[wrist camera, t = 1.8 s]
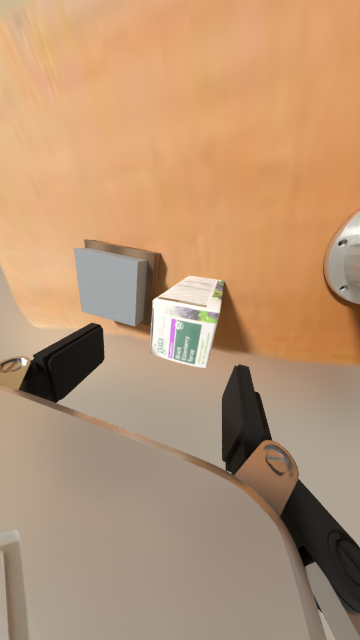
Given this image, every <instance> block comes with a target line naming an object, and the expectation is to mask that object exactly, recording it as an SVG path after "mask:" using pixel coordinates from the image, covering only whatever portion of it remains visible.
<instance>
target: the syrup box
mask: <svg viewBox="0 0 360 640" xmlns="http://www.w3.org/2000/svg"><path fill="white" fill-rule="evenodd" d="M223 288H224V280H217V279H209V278H203V277H196V276H188V277H187V278H185V279H184V280H182V281H181V282H179V283H178V284H176V285H175V286H173V287H172V288H170V289H169V290H167V291H166V292H164V293H163V294H161V295H160V296H158V297H157V298H155V299H154V300H153V311H152V322H151V347H150V353H151V354H153V355H156V356H159V357H162V358H165V359H168V360H171V361H175V362H178V363H182V364H186V365H190V366H195V367H201V368H206V367H207V364H208V360H209V356H210V352H211V348H212V344H213V340H214V336H215V331H216V327H217V323H218V318H219V314H220V311H221V303H222V296H223Z"/></svg>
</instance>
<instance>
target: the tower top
mask: <svg viewBox="0 0 360 640" xmlns="http://www.w3.org/2000/svg"><path fill="white" fill-rule="evenodd" d="M74 252H75V260H76V268H77V276H78V285H79V293H80V301H81V309H82V312H86V313H89V314H93V315H96V316H100V317H103V318H107V319H110V320H114V321H117V322H121V323H124V324H128V325H131V326H136V325H137V324H139V323H140V322H141V321H142V320H143V317H144V303H145V289H146V275H147V260H143V259H139V258H134V257H129V256H125V255H120V254H115V253H110V252H106V251H101V250H96V249H92V248H74Z"/></svg>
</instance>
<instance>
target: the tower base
mask: <svg viewBox="0 0 360 640" xmlns="http://www.w3.org/2000/svg"><path fill="white" fill-rule="evenodd" d="M84 241H85V248H92V249H96V250H101V251H106V252H110V253H115V254H120V255H125V256H129V257H134V258H139V259H143V260H147V275H146V289H145V303H144V317H143V320H142V321H141V322H140V323H142V324H146V325H149V324H150V323H151V322H152V311H153V300H154V299H155V298H156V294H157V285H158V275H159V265H160V255H161V253H156V252H151V251H146V250H141V249H136V248H131V247H126V246H121V245H116V244H111V243H106V242H101V241H96V240H84Z"/></svg>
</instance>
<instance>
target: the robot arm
mask: <svg viewBox="0 0 360 640" xmlns="http://www.w3.org/2000/svg"><path fill="white" fill-rule="evenodd" d="M339 242H340V245H339V246H338V243H339ZM324 275H325V278H326V281H327V284H328V285H329V287H330V288H331V290H332V291H333V292H335V293H336V294H337V295H338V296H340V297H341V298H343V299H345V300H347V301H350V302H353V303H355V304H360V210H359V211H357V212H356V213H355V214H354V215H353V216H352V217H351V218H350V219H348V220H347V221H346V222H345V223H344V224H343V226H342V227H341V228H340V230H339V231H338V232H337V233H336V235H335V236H334V238H333V240H332V242H331V243H330V245H329V247H328V250H327V253H326V256H325V262H324ZM341 287H342V288H341ZM33 357H34V359H33V360H30V358H28V357H25V356H18V357H12V358H8V359H5V360H3V361H1V362H0V640H327V639H326V636H325V632H324V629H323V626H322V622H321V619H320V616H319V612H318V609H319V610H320V611H321V612H322V613H323V615H324V617H325V619H326V621H327V623H328V624H329V627H330V629H331V631H332V633H333V635H334V637H335V639H336V640H360V547H359V546H358V545H357V544H356V542H355V541H354V540H353V539H352V538H351V537H350V536H349V535H348V533H347V532H346V531H345V530H344V529H343V528H342V527H341V526H340V525H339V523H338V522H337V521H336V520H335V519H334V518H333V517H332V516H331V515H330V513H328V511H327V510H326V509H325V508H324V507H323V506H322V504H321V503H320V502H319V501H318V500H317V499H316V498H315V497H314V496H313V494H312V493H311V492H310V491H309V490H308V489H307V488H306V487H305V486H304V484H303V483H301V481H300V480H299V479H298V476H299V473H298V468H297V466H296V463H295V461H294V459H293V458H292V456H291V455H290V454H289V453H288V451H287V450H286V449H285V448H284V447H282V446H281V445H280V444H278V443H276V442H274V441H272V438H271V434H270V431H269V427H268V423H267V419H266V416H265V412H264V408H263V404H262V400H261V397H260V394H259V393H258V392H255V391H254V387H253V383H252V378H251V374H250V370H249V367H247V366H243V365H238V366H235V367H234V369H233V372H232V374H231V377H230V379H229V381H228V384H227V386H226V389H225V391H224V394H223V397H222V460H223V461H224V462H226V471H225V470H223V469H221V468H219V467H217V466H215V465H213V464H211V463H209V462H206V461H204V460H202V459H199V458H197V457H194V456H192V455H189V454H187V453H184V452H182V451H179V450H177V449H175V448H172V447H169V446H167V445H164V444H162V443H159V442H156V441H154V440H151V439H149V438H146V437H144V436H141V435H139V434H136V433H133V432H131V431H128V430H125V429H123V428H120V427H118V426H115V425H112V424H110V423H107V422H104V421H102V420H99V419H97V418H94V417H91V416H88V415H86V414H83V413H81V412H78V411H76V410H73V409H70V408H67V407H65V406H62V405H59V404H57V402H58V401H59V400H61V399H63V398H64V397H65V396H66V395H68V393H70V392H71V391H72V390H73V389H74V388H75V387H76V386H77V385H78V384H79V383H80V382H82V381H83V380H84V378H86V377H87V376H88V375H89V374H90V373H91V372H92V371H93V370H94V369H96V368H97V367H98V366H99V365H100V364H101V363H102V362H103V360H104V339H103V328H102V327H101V325H99V324H95V323H90V324H89V325H87V326H85V327H83V328H81V329H80V330H78V331H76V332H74V333H72V334H70V335H69V336H67V337H65V338H63V339H61V340H60V341H58V342H56V343H54V344H52V345H50V346H49V347H47V348H45V349H43V350H41V351H40V352H38V353H36V354H34V355H33ZM227 471H229V472H232V474H230V473H229V472H227Z"/></svg>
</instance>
